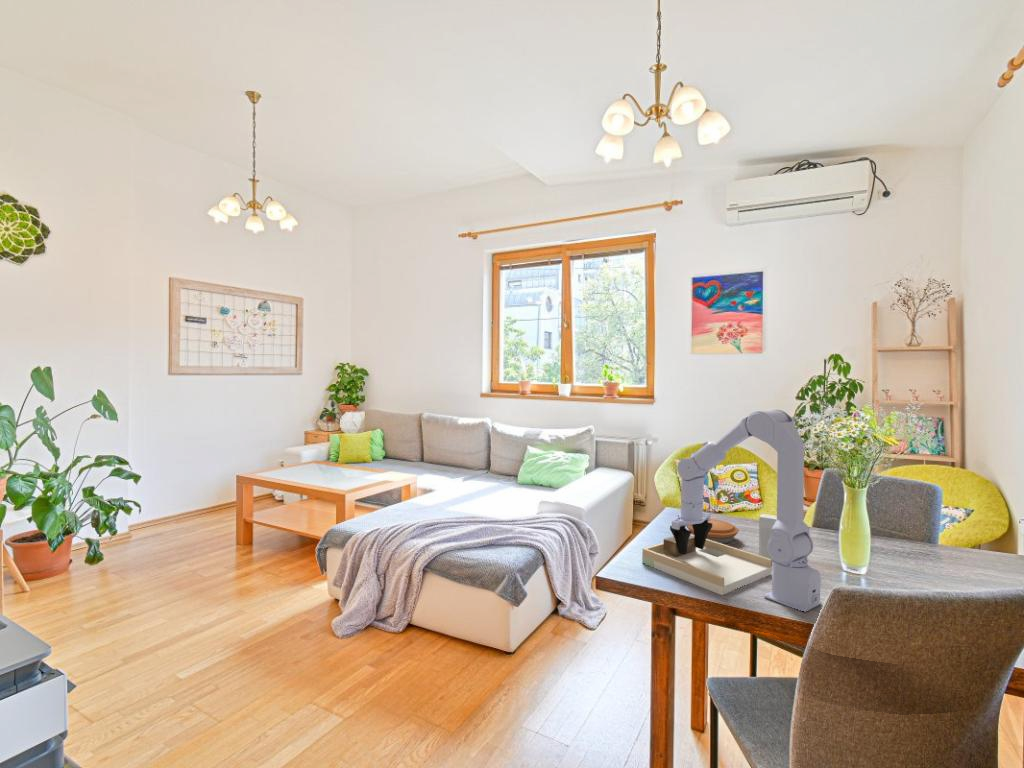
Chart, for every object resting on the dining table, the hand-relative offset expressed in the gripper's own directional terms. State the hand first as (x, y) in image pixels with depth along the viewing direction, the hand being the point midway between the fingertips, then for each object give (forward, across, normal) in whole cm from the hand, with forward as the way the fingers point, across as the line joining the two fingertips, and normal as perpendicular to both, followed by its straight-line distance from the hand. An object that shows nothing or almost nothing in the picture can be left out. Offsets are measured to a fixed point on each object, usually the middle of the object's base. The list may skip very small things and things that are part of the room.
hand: (690, 550), depth 141 cm
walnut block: (+2, 0, -4) cm, 4 cm away
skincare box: (+4, -22, +10) cm, 25 cm away
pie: (+4, -24, -10) cm, 26 cm away
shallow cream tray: (+3, 0, +4) cm, 6 cm away
